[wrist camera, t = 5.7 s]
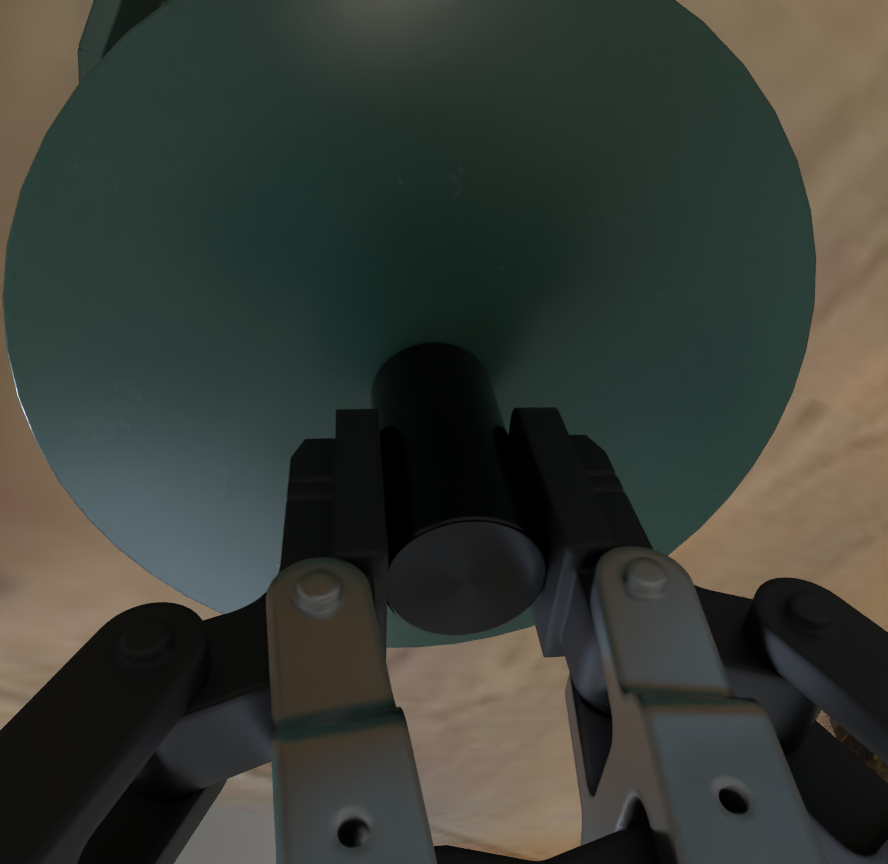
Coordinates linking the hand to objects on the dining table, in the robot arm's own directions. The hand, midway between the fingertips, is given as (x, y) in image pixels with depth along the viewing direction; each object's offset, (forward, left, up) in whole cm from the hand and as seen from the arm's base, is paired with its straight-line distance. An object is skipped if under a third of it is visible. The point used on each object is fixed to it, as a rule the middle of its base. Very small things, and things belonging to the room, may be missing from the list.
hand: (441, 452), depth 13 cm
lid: (0, 0, -2) cm, 2 cm away
